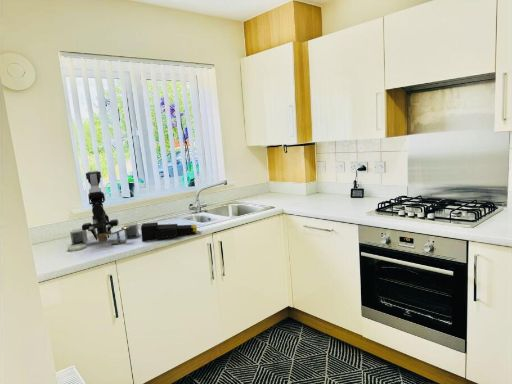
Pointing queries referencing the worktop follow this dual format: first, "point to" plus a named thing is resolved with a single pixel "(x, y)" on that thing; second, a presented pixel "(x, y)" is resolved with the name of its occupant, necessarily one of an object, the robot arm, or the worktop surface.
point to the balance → (117, 236)
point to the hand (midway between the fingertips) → (102, 239)
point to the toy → (165, 230)
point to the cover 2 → (131, 230)
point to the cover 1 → (78, 236)
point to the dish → (76, 247)
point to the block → (102, 237)
